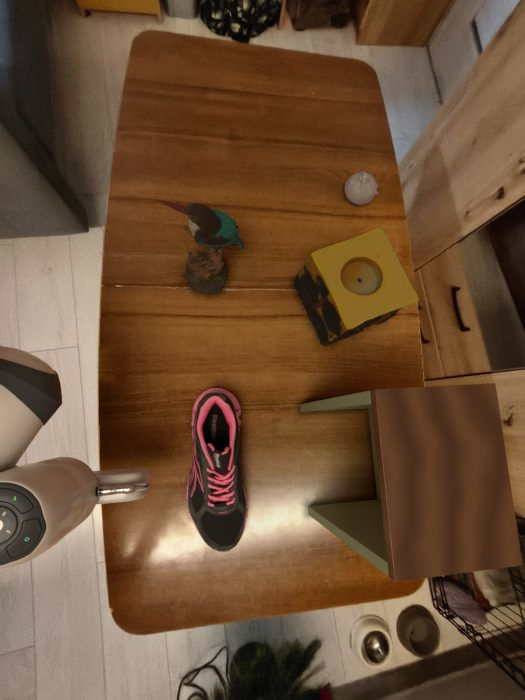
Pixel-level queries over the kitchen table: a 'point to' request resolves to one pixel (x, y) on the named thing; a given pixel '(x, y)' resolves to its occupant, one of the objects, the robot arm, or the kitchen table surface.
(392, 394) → the board
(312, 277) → the candle
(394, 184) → the kitchen table surface
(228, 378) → the kitchen table surface
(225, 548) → the running shoe
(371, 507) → the dark grey angular piece
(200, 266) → the sculpture
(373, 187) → the garlic bulb
